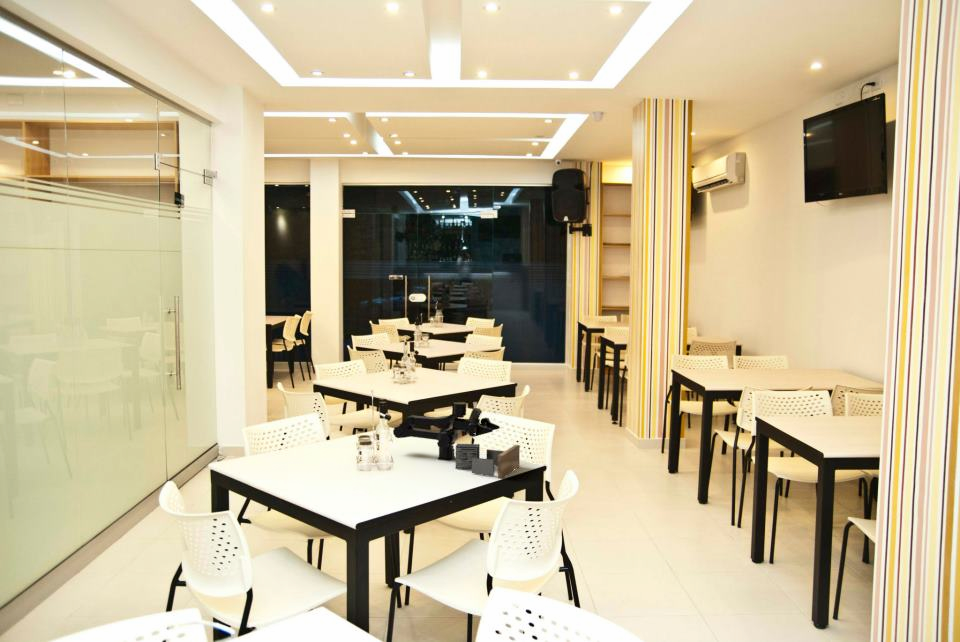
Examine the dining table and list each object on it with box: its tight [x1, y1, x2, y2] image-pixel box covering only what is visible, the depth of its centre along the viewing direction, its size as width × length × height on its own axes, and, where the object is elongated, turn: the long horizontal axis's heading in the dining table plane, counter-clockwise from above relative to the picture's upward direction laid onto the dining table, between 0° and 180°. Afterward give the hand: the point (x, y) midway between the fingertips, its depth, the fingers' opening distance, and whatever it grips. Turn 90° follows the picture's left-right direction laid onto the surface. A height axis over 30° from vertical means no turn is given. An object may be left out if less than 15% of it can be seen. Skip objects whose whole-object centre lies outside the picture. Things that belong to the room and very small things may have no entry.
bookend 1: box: [471, 457, 495, 477], centre depth 304 cm, size 10×1×7 cm, turn 67°
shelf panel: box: [497, 444, 521, 480], centre depth 308 cm, size 2×22×10 cm, turn 158°
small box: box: [455, 443, 481, 470], centre depth 316 cm, size 11×6×10 cm, turn 84°
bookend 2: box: [485, 448, 505, 467], centre depth 320 cm, size 10×1×7 cm, turn 67°
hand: (496, 429), depth 322 cm, fingers open, 9 cm apart
